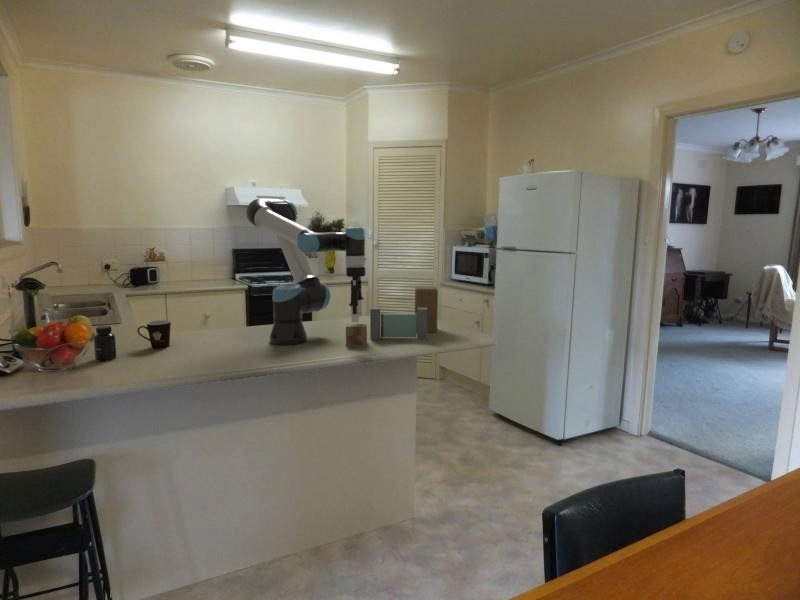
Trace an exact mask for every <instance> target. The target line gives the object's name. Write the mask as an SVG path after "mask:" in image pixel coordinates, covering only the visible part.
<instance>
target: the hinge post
mask: <svg viewBox="0 0 800 600" xmlns="http://www.w3.org/2000/svg"><path fill="white" fill-rule="evenodd" d="M369 310H370V311H369V314H370V315H369V316H370V318H369V319H370V321H369V323H370V326H369V328H370V332H369V335H370V338H369V339H370V340H381V307H376V306H375V307H373V306H372V307H370V309H369Z"/></svg>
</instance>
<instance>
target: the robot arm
mask: <svg viewBox="0 0 800 600" xmlns="http://www.w3.org/2000/svg"><path fill="white" fill-rule="evenodd" d="M245 212H246V213H245V214H246V217H247V219H248V222H250V224H252V225H253V226H255V227H257V228H259V229H262V230H264V229H266V230H268V231H269V232H271V234H274V235H275V236H276V237H277V240H278V242H279V245H280V247H281V250H282V253H283V255H284V259H285V260H286V263H287V265H288V268H289V270H290V274H291V276H292V278H293V281H294V283H285V284H280V285H278V286H276V287H274V288H273V289H272V298H271V300H272V312H273V314H272V316H273V324H272V328H271V331H270V335H269V343H271V344H273V345H277V346H279V345H280V346H290V345H292V346H293V345H299V344H302V343H306V342H307V341H308V334H307V331H306V329H305V326H304V323H303V314H309V313H314V312H319V311H321V310H324V309H326V308H327V307H328V306H329V304H330V300H331V291H330V290H331V289H330V288H329V286H328V285H327V284H325V283H323V282H321V281H320V278H319V276H317V275H315V274H314V273H313V270H312V268H311V266H310V263H309V261H308V257H307V255H306V254H313V253H314V254H315V253H323V252H345V265H346V266H347V267H346V268H345V270H346V276H347V277H350V278H352V279H351V280H350V303H349V307H350V308H351V315H350V316H351V323H359V322H360V321H359V318H360V317H362V316H363V310H362V309H363V307H362V306H363V302H362V301H363V300H364V296H363V294H362V280H361V279H362V277H365V276H366V267H365V265H366V261H367V257H366V254H365V251H366V249H365V243H366V242H365V241H366V235H365V230H364V228H363V227H359V226H358V227H356V226H355V227H354V226H352V227H346V228H345V231H344V232H343V231H341V232H340V231H338V232H337V231H329V232H328V231H327V232H315V231H312V230H311V229H308V228H306V227H305V226H303V225H301V224H299V223H297V220H298V216H297V215H298V210H297V208H296V205H295V204H294V203H293V202H291V201H290V200H288V199H283V198H277V199H276V198H255V199H254V200H252V201H251V202H249V204H248V205H247V207H246V211H245ZM305 253H306V254H305Z"/></svg>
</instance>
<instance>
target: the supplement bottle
mask: <svg viewBox="0 0 800 600" xmlns="http://www.w3.org/2000/svg"><path fill="white" fill-rule="evenodd" d="M112 332H113V330H112V326H111V325H99V326H96V327H95V333H96V334H95V335H94V336H93V350H94V359H95V361H97V360H99V361H98V362H107V361H106V360H110V361H113V360H112V359H114V360H115V359H116V358H117V342H116V335H115V333H112Z"/></svg>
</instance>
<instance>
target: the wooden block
mask: <svg viewBox="0 0 800 600" xmlns="http://www.w3.org/2000/svg"><path fill="white" fill-rule="evenodd" d="M438 292H439V291H438V289H437V286H436V285H435V286H434V285H425V286H424V285H417V286H415V287H414V314H416V333H417V319H418V308H427V334H429V333H430V334H432V333H435V334H436V333H437V332H438V296H439V295H438V294H439V293H438Z"/></svg>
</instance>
